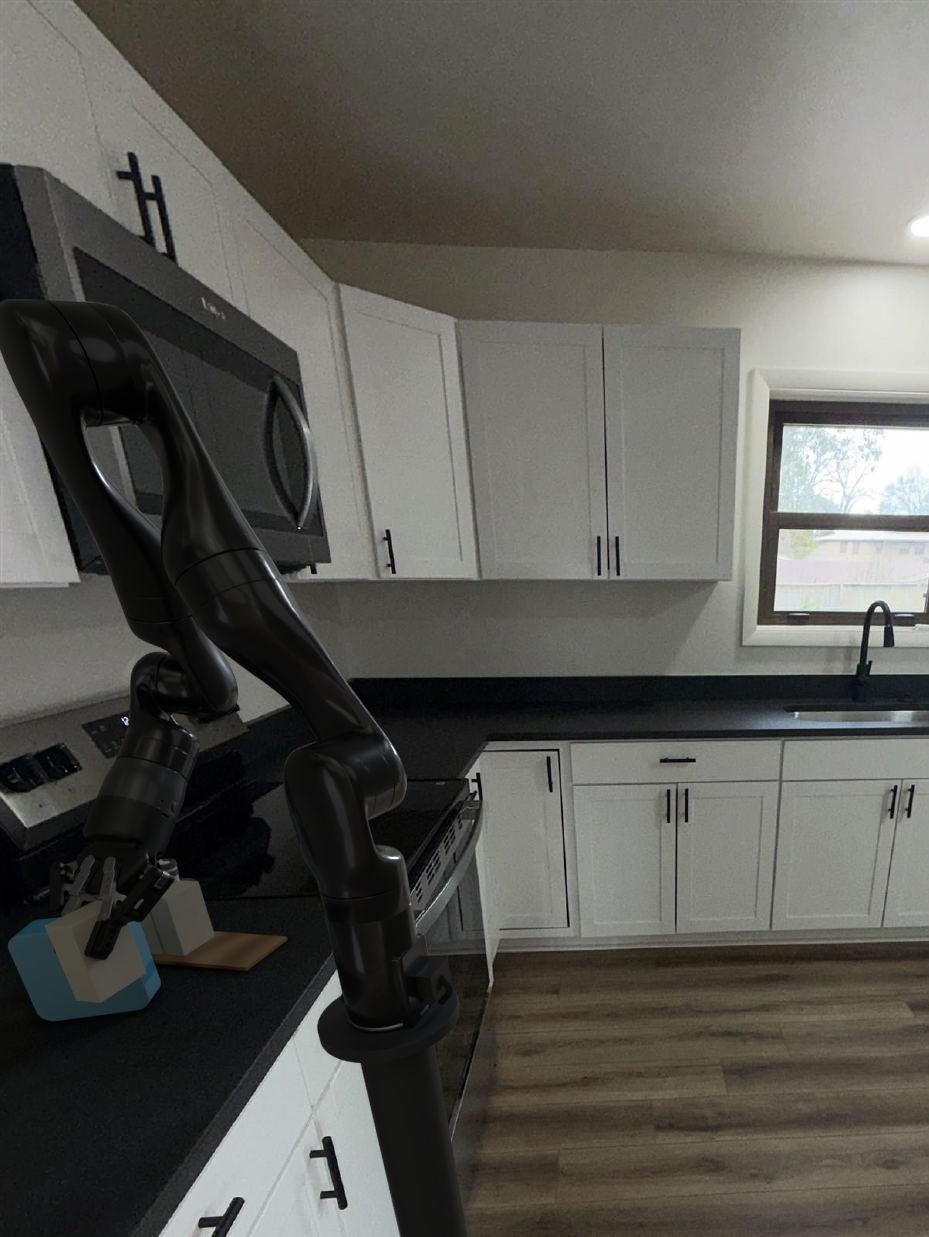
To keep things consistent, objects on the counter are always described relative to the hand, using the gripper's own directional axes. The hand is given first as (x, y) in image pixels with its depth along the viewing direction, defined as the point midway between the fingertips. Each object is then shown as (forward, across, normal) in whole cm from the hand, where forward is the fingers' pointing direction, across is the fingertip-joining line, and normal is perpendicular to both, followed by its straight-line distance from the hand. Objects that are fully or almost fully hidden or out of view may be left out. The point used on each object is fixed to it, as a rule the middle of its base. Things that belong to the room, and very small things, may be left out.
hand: (80, 956), depth 74 cm
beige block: (+2, 0, +5) cm, 5 cm away
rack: (-8, -10, +27) cm, 30 cm away
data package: (+3, -12, +17) cm, 21 cm away
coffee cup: (-21, -32, +41) cm, 56 cm away
